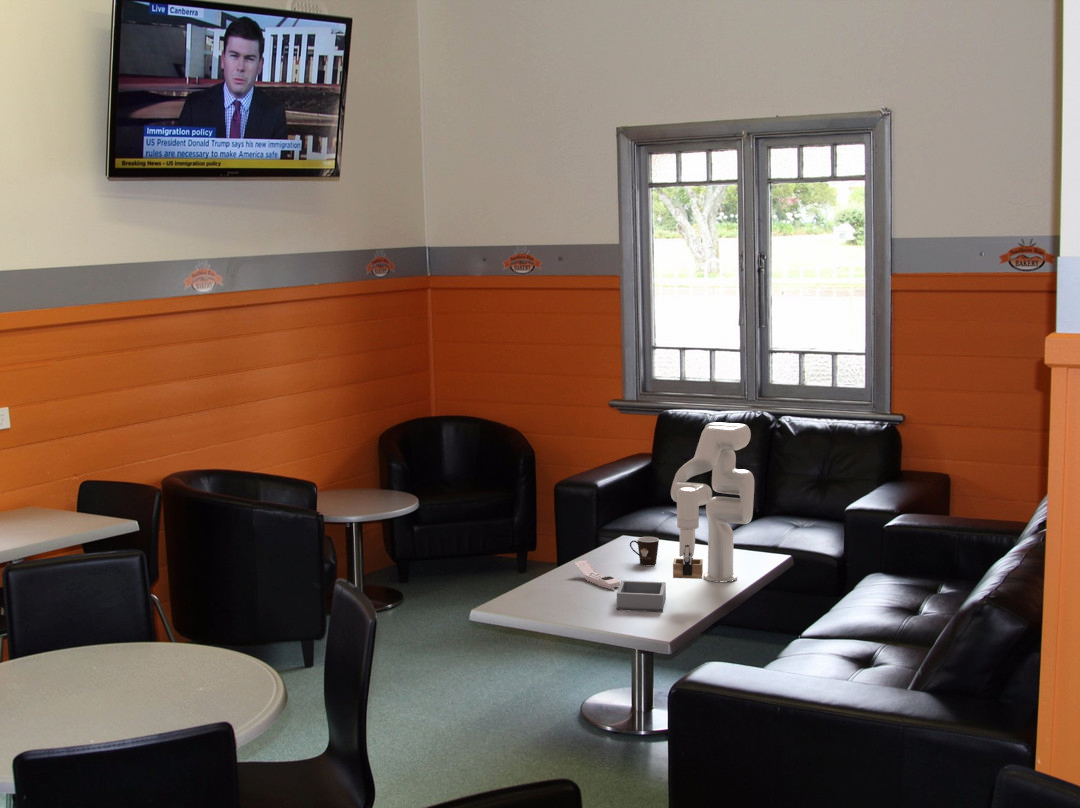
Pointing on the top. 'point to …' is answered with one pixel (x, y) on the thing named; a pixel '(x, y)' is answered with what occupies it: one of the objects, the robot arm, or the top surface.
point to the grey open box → (641, 596)
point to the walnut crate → (696, 568)
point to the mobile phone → (597, 576)
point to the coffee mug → (647, 550)
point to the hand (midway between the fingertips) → (687, 571)
